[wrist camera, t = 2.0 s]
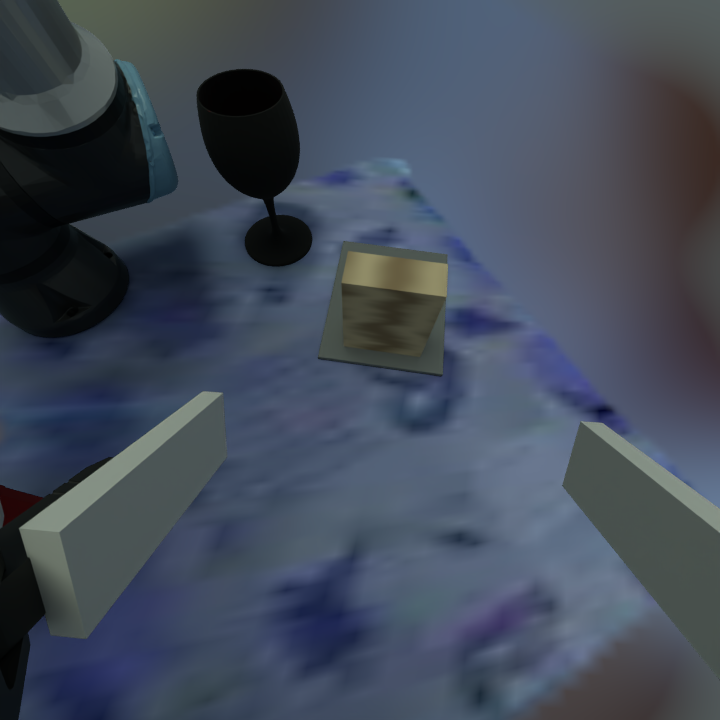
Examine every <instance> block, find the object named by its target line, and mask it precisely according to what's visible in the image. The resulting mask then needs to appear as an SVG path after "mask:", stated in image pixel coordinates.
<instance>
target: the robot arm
mask: <svg viewBox="0 0 720 720" xmlns="http://www.w3.org/2000/svg"><path fill="white" fill-rule="evenodd" d="M177 185H178V176H177V172H176V169H175V165H174V162H173V159H172V156H171V153H170V151H169V148H168V145H167V142H166V140H165V137H164V135H163V132H162V131H161V127H160V124H159V122H158V119H157V116H156V113H155V111H154V108H153V106H152V103H151V101H150V99H149V96H148V93H147V91H146V89H145V86H144V85H143V82H142V79H141V77H140V75H139V73H138V71H137V69H136V68H135V66H134V65H133V64H132V63H130V62H127V61H120V60H118V59H116V60H113V58H112V57H111V55H110V53H109V51H108V50H107V49H106V47H105V46H104V45H103V44H102V42H101V41H100V40H99V39H98V38H97V37H95V36H94V35H93V34H92V33H91V32H89V31H87V30H86V29H85V28H83V27H81V26H79V25H77V24H75V23H73V22H70V21H69V19H68V17H67V16H66V14H65V13H64V11H63V9H62V7H61V6H60V4H59V2H58V1H57V0H0V313H1V315H2V316H3V317H4V318H5V319H6V320H8V321H9V322H10V323H12V324H14V325H15V326H17V327H19V328H21V329H22V330H24V331H26V332H28V333H30V334H33V335H36V336H41V337H61V336H67V335H71V334H75V333H78V332H81V331H83V330H85V329H88V328H90V327H92V326H94V325H95V324H97V323H99V322H100V321H102V320H103V319H104V318H106V317H107V316H108V315H109V314H110V313H111V312H112V311H113V310H114V309H115V308H116V307H117V306H118V305H119V303H120V302H121V300H122V299H123V297H124V295H125V293H126V291H127V287H128V282H129V275H128V271H127V268H126V266H125V264H124V263H123V261H122V260H121V259H120V258H119V257H118V256H117V255H116V254H115V253H114V251H113V250H111V249H110V248H109V247H108V246H106V245H105V244H103V243H101V242H100V241H98V240H96V239H94V238H93V237H91V236H89V235H87V234H86V233H84V232H82V231H81V230H79V229H77V228H76V227H74V226H72V225H70V224H69V223H73V222H77V221H81V220H84V219H88V218H92V217H96V216H99V215H103V214H107V213H110V212H114V211H118V210H122V209H125V208H129V207H133V206H136V205H140V204H144V203H150V202H152V201H153V200H154V199H157V198H159V197H162V196H165V195H168V194H170V193H172V192H173V191H175V189H176V188H177ZM226 458H227V447H226V432H225V416H224V401H223V393H218V392H205V391H203V392H201V393H200V394H199V395H197V396H196V397H195V398H193V399H192V400H191V401H189V402H188V403H187V404H185V405H184V406H183V407H181V408H180V409H179V410H177V411H176V412H175V413H173V414H172V415H170V416H169V417H168V418H166V419H165V420H164V421H162V422H161V423H160V424H158V425H157V426H156V427H154V428H153V429H152V430H150V431H149V432H148V433H146V434H145V435H144V436H142V437H141V438H140V439H138V440H137V441H136V442H134V443H133V444H132V445H130V446H129V447H128V448H126V449H125V450H123V451H122V452H121V453H119V454H118V455H117V456H115V457H114V458H112V457H108V458H106V459H104V460H102V461H100V462H97V463H95V464H93V465H91V466H89V467H87V468H85V469H84V470H82V471H81V472H80V473H78V474H77V475H75V476H74V477H73V478H71V479H70V480H69V481H68V483H64V484H63V485H61V486H60V487H58V488H57V489H56V490H54V491H53V494H49V495H47V496H46V497H44V498H43V499H41V500H40V501H39V502H37V503H36V504H34V505H33V506H32V507H30V508H29V509H27V510H26V511H25V512H23V513H22V514H20V515H19V516H17V517H16V518H15V519H13V520H12V521H10V522H9V523H8V524H6V525H5V526H3V527H2V528H1V529H0V720H18V718H19V712H20V706H21V700H22V694H23V687H24V681H25V675H26V669H27V662H28V656H29V650H30V641H29V635H28V631H29V630H30V629H31V628H32V627H33V626H34V625H35V624H36V623H37V622H38V621H39V620H40V619H41V618H42V617H43V616H44V614H45V618H46V621H47V624H48V628H49V631H50V634H51V635H54V636H63V637H72V638H81V639H87V638H88V636H89V635H90V634H91V632H92V631H93V630H94V629H95V627H96V626H97V625H98V623H99V622H100V621H101V619H102V618H103V617H104V616H105V614H106V613H107V612H108V610H109V609H110V608H111V607H112V605H113V604H114V603H115V601H116V600H117V599H118V597H119V596H120V595H121V594H122V592H123V591H124V590H125V588H126V587H127V586H128V585H129V583H130V582H131V581H132V579H133V578H134V577H135V575H136V574H137V573H138V572H139V570H140V569H141V568H142V566H143V565H144V564H145V563H146V561H147V560H148V559H149V557H150V556H151V555H152V553H153V552H154V551H155V550H156V548H157V547H158V546H159V544H160V543H161V542H162V541H163V539H164V538H165V537H166V535H167V534H168V533H169V531H170V530H171V529H172V528H173V526H174V525H175V524H176V522H177V521H178V520H179V519H180V517H181V516H182V515H183V513H184V512H185V511H186V509H187V508H188V507H189V506H190V504H191V503H192V502H193V500H194V499H195V498H196V497H197V495H198V494H199V493H200V491H201V490H202V489H203V487H204V486H205V485H206V484H207V482H208V481H209V480H210V478H211V477H212V476H213V475H214V473H215V472H216V471H217V469H218V468H219V467H220V465H221V464H222V463H223V462H224V460H225V459H226ZM562 486H563V487H564V489H565V490H566V491H567V492H568V494H569V495H570V496H571V497H572V499H573V500H574V501H575V502H576V503H577V505H578V506H579V507H580V508H581V510H582V511H583V512H584V513H585V515H586V516H587V517H588V518H589V520H590V521H591V522H592V523H593V524H594V526H595V527H596V528H597V529H598V531H599V532H600V533H601V534H602V536H603V537H604V538H605V539H606V540H607V542H608V543H609V544H610V545H611V547H612V548H613V549H614V550H615V552H616V553H617V554H618V555H619V557H620V558H621V559H622V560H623V561H624V563H625V564H626V565H627V566H628V568H629V569H630V570H631V571H632V573H633V574H634V575H635V576H636V577H637V579H638V580H639V581H640V582H641V584H642V585H643V586H644V587H645V589H646V590H647V591H648V592H649V594H650V595H651V596H652V597H653V598H654V600H655V601H656V602H657V603H658V605H659V606H660V607H661V608H662V610H663V611H664V612H665V613H666V615H667V616H668V617H669V618H670V619H671V621H672V622H673V623H674V624H675V626H676V627H677V628H678V629H679V631H680V632H681V633H682V634H683V635H684V637H685V638H686V639H687V640H688V642H689V643H690V644H691V645H692V647H693V648H694V649H695V650H696V651H697V653H698V654H699V655H700V656H701V658H702V659H703V660H704V661H705V663H706V664H707V665H708V666H709V667H710V669H711V670H712V671H713V672H714V674H715V675H716V676H717V677H718V679H719V680H720V509H719V508H718V507H716V506H715V505H714V504H712V503H711V502H710V501H708V500H707V499H705V498H704V497H703V496H701V495H700V494H699V493H697V492H696V491H695V490H693V489H692V488H690V487H689V486H688V485H686V484H685V483H684V482H682V481H681V480H679V479H678V478H677V477H675V476H674V475H673V474H671V473H670V472H669V471H667V470H666V469H664V468H663V467H662V466H660V465H659V464H658V463H656V462H655V461H653V460H652V459H651V458H649V457H648V456H647V455H645V454H644V453H643V452H641V451H640V450H638V449H637V448H636V447H634V446H633V445H632V444H630V443H629V442H627V441H626V440H625V439H623V438H622V437H621V436H619V435H618V434H617V433H615V432H614V431H612V430H611V429H610V428H608V427H607V426H606V425H604V424H603V423H595V422H582V421H580V425H579V428H578V432H577V436H576V439H575V443H574V446H573V450H572V453H571V457H570V460H569V464H568V467H567V471H566V474H565V478H564V481H563V485H562Z"/></svg>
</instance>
